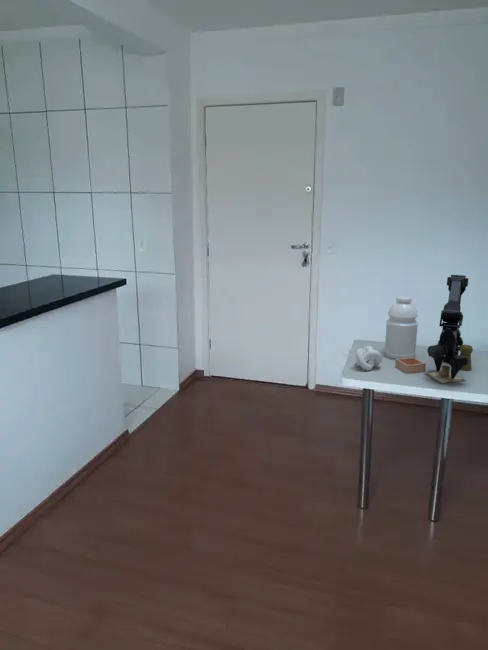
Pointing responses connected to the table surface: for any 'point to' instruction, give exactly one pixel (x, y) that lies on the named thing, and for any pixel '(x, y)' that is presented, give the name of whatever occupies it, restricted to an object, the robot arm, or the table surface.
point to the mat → (444, 383)
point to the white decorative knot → (368, 358)
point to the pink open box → (410, 365)
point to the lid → (444, 375)
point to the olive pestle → (466, 352)
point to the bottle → (401, 329)
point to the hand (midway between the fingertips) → (445, 374)
